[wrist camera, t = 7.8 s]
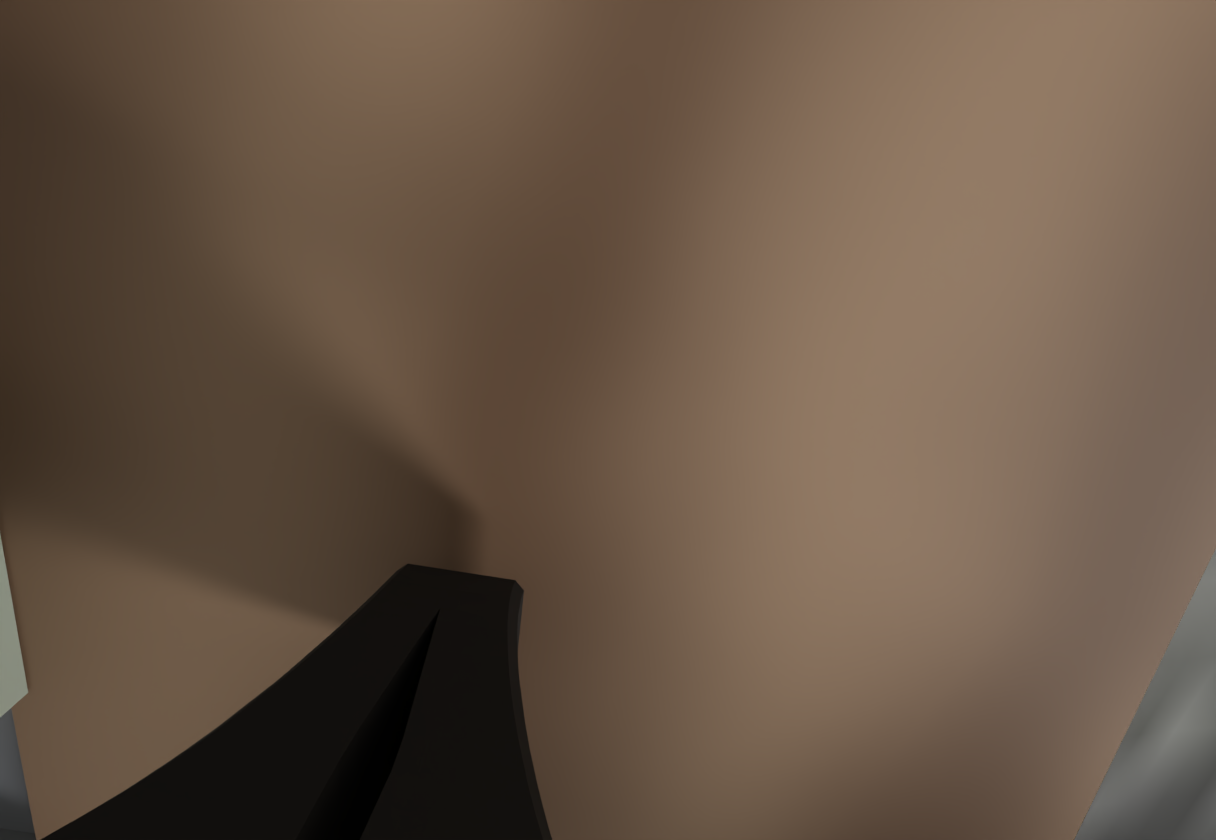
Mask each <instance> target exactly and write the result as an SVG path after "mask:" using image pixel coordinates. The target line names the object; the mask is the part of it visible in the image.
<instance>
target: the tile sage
mask: <svg viewBox="0 0 1216 840" xmlns="http://www.w3.org/2000/svg"><path fill="white" fill-rule="evenodd" d="M27 693H28V688H27V683H26V677H25V671H24V666H23V660H22V654H21V649H20V643H19V637H18V632H17V626H16V620H15V615H14V609H13V603H12V598H11V592H10V586H9V581H8V575H7V569H6V563H5V558H4V552H3V546H2V541H1V535H0V717H1V716H3V715H4V714H5V713H6V712H7V711H8V710H9V709H10V708H12V707H13V706H14V705H15V704H16V703H17V702H18V701H19V700H21V699H22V698H23V697H24V696H25V695H26V694H27Z"/></svg>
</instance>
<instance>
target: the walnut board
mask: <svg viewBox="0 0 1216 840" xmlns="http://www.w3.org/2000/svg"><path fill="white" fill-rule="evenodd" d="M0 535H1V541H2V546H3V552H4V558H5V563H6V569H7V575H8V581H9V586H10V592H11V598H12V603H13V609H14V615H15V620H16V626H17V632H18V637H19V643H20V649H21V654H22V660H23V666H24V671H25V677H26V683H27V688H28V693H27V694H26V695H25V696H24V697H23V698H22V699H21V700H19V701H18V702H17V703H16V704H15V705H14V706H13V707H12V708H11V709H12V714H13V719H14V725H15V730H16V735H17V741H18V746H19V751H20V757H21V762H22V767H23V772H24V778H25V783H26V788H27V794H28V799H29V804H30V810H31V815H32V820H33V826H34V831H35V836H36V840H40V839H42V838H44V837H46V836H47V835H49V834H51V833H53V832H54V831H56V830H58V829H60V828H62V827H63V826H65V825H67V824H69V823H70V822H72V821H74V820H76V819H77V818H79V817H81V816H83V815H84V814H86V813H88V812H89V811H91V810H93V809H94V808H96V807H98V806H99V805H101V804H103V803H104V802H106V801H108V800H109V799H111V798H113V797H115V796H116V795H118V794H120V793H121V792H123V791H124V790H126V789H128V788H129V787H131V786H132V785H134V784H135V783H137V782H138V781H140V780H141V779H143V778H144V777H146V776H148V775H149V774H151V773H152V772H154V771H155V770H157V769H158V768H160V767H161V766H163V765H164V764H166V763H167V762H169V761H170V760H172V759H173V758H175V757H176V756H178V755H179V754H180V753H182V752H183V751H185V750H186V749H188V748H189V747H190V746H192V745H193V744H195V743H196V742H197V741H199V740H200V739H202V738H203V737H204V736H206V735H207V734H209V733H210V732H211V731H213V730H214V729H215V728H217V727H218V726H219V725H221V724H222V723H223V722H225V721H226V720H227V719H228V718H230V717H231V716H232V715H234V714H235V713H236V712H237V711H239V710H240V709H241V708H243V707H244V706H245V705H246V704H248V703H249V702H250V701H252V700H253V699H254V698H255V697H257V696H258V695H259V694H260V693H262V692H263V691H264V690H266V689H267V688H268V687H269V686H271V685H272V684H273V683H275V682H276V681H277V680H278V679H279V678H281V677H282V676H283V675H284V674H285V673H287V672H288V671H289V670H290V669H291V668H292V667H294V666H295V665H296V664H297V663H298V662H299V661H300V660H302V659H303V658H304V657H305V656H306V655H307V654H308V653H310V652H311V651H312V650H313V649H314V648H315V647H316V646H318V645H319V644H320V643H321V642H322V641H323V640H325V639H326V638H327V637H328V636H329V635H330V634H331V633H332V632H334V631H335V630H336V629H337V628H338V627H339V626H340V625H341V624H342V623H343V622H344V621H345V620H346V619H348V618H349V617H350V616H351V615H352V614H353V613H354V612H355V611H356V610H357V609H358V608H359V607H360V606H361V605H362V604H363V603H365V602H366V601H367V600H368V599H369V598H370V597H371V596H372V595H373V594H374V593H375V592H376V591H377V590H378V589H379V588H380V587H381V586H382V585H383V584H384V583H385V582H386V581H387V580H388V579H389V578H390V577H391V576H392V575H393V574H394V573H395V572H396V571H397V570H399V569H400V568H402V567H403V566H405V565H406V564H414V565H421V566H427V567H434V568H440V569H447V570H453V571H459V572H466V573H472V574H479V575H485V576H492V577H498V578H505V579H511V580H516V581H517V583H518V584H519V585H520V586H521V587H522V589H523V590H524V596H523V606H522V615H521V625H520V634H519V644H518V668H519V680H520V688H521V696H522V703H523V710H524V718H525V725H526V731H527V736H528V742H529V747H530V752H531V757H532V761H533V766H534V771H535V775H536V780H537V784H538V789H539V793H540V797H541V801H542V805H543V808H544V812H545V816H546V820H547V823H548V827H549V830H550V834H551V837H552V840H1074V839H1075V837H1076V835H1077V832H1078V830H1079V828H1080V826H1081V824H1082V822H1083V820H1084V818H1085V816H1086V814H1087V812H1088V810H1089V808H1090V806H1091V804H1092V802H1093V800H1094V798H1095V795H1096V793H1097V791H1098V789H1099V787H1100V785H1101V783H1102V781H1103V779H1104V777H1105V775H1106V773H1107V771H1108V769H1109V767H1110V765H1111V763H1112V761H1113V758H1114V756H1115V754H1116V752H1117V750H1118V748H1119V746H1120V744H1121V742H1122V740H1123V738H1124V736H1125V734H1126V732H1127V730H1128V728H1129V726H1130V724H1131V721H1132V719H1133V717H1134V715H1135V713H1136V711H1137V709H1138V707H1139V705H1140V703H1141V701H1142V699H1143V697H1144V695H1145V693H1146V691H1147V689H1148V686H1149V684H1150V682H1151V680H1152V678H1153V676H1154V674H1155V672H1156V670H1157V668H1158V666H1159V664H1160V662H1161V660H1162V658H1163V656H1164V654H1165V652H1166V649H1167V647H1168V645H1169V643H1170V641H1171V639H1172V637H1173V635H1174V633H1175V631H1176V629H1177V627H1178V625H1179V623H1180V621H1181V619H1182V617H1183V615H1184V612H1185V610H1186V608H1187V606H1188V604H1189V602H1190V600H1191V598H1192V596H1193V594H1194V592H1195V590H1196V588H1197V586H1198V584H1199V582H1200V580H1201V577H1202V575H1203V573H1204V571H1205V569H1206V567H1207V565H1208V563H1209V561H1210V559H1211V557H1212V555H1213V553H1214V551H1215V549H1216V0H0Z"/></svg>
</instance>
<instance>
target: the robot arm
mask: <svg viewBox="0 0 1216 840" xmlns="http://www.w3.org/2000/svg"><path fill="white" fill-rule="evenodd" d="M523 596H524V590H523V589H522V587H521V586H520V585H519V584H518V583H517V581H516V580H511V579H505V578H498V577H492V576H485V575H479V574H472V573H466V572H459V571H453V570H447V569H440V568H434V567H427V566H421V565H414V564H406V565H405V566H403V567H402V568H400V569H399V570H397V571H396V572H395V573H394V574H393V575H392V576H391V577H390V578H389V579H388V580H387V581H386V582H385V583H384V584H383V585H382V586H381V587H380V588H379V589H378V590H377V591H376V592H375V593H374V594H373V595H372V596H371V597H370V598H369V599H368V600H367V601H366V602H365V603H363V604H362V605H361V606H360V607H359V608H358V609H357V610H356V611H355V612H354V613H353V614H352V615H351V616H350V617H349V618H348V619H346V620H345V621H344V622H343V623H342V624H341V625H340V626H339V627H338V628H337V629H336V630H335V631H334V632H332V633H331V634H330V635H329V636H328V637H327V638H326V639H325V640H323V641H322V642H321V643H320V644H319V645H318V646H316V647H315V648H314V649H313V650H312V651H311V652H310V653H308V654H307V655H306V656H305V657H304V658H303V659H302V660H300V661H299V662H298V663H297V664H296V665H295V666H294V667H292V668H291V669H290V670H289V671H288V672H287V673H285V674H284V675H283V676H282V677H281V678H279V679H278V680H277V681H276V682H275V683H273V684H272V685H271V686H269V687H268V688H267V689H266V690H264V691H263V692H262V693H260V694H259V695H258V696H257V697H255V698H254V699H253V700H252V701H250V702H249V703H248V704H246V705H245V706H244V707H243V708H241V709H240V710H239V711H237V712H236V713H235V714H234V715H232V716H231V717H230V718H228V719H227V720H226V721H225V722H223V723H222V724H221V725H219V726H218V727H217V728H215V729H214V730H213V731H211V732H210V733H209V734H207V735H206V736H204V737H203V738H202V739H200V740H199V741H197V742H196V743H195V744H193V745H192V746H190V747H189V748H188V749H186V750H185V751H183V752H182V753H180V754H179V755H178V756H176V757H175V758H173V759H172V760H170V761H169V762H167V763H166V764H164V765H163V766H161V767H160V768H158V769H157V770H155V771H154V772H152V773H151V774H149V775H148V776H146V777H144V778H143V779H141V780H140V781H138V782H137V783H135V784H134V785H132V786H131V787H129V788H128V789H126V790H124V791H123V792H121V793H120V794H118V795H116V796H115V797H113V798H111V799H109V800H108V801H106V802H104V803H103V804H101V805H99V806H98V807H96V808H94V809H93V810H91V811H89V812H88V813H86V814H84V815H83V816H81V817H79V818H77V819H76V820H74V821H72V822H70V823H69V824H67V825H65V826H63V827H62V828H60V829H58V830H56V831H54V832H53V833H51V834H49V835H47V836H46V837H44V838H42V839H40V840H552V837H551V834H550V830H549V827H548V823H547V820H546V816H545V812H544V808H543V805H542V801H541V797H540V793H539V789H538V784H537V780H536V775H535V771H534V766H533V761H532V757H531V752H530V747H529V742H528V736H527V731H526V725H525V718H524V710H523V703H522V696H521V688H520V680H519V668H518V644H519V634H520V625H521V615H522V606H523Z"/></svg>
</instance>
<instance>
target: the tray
mask: <svg viewBox="0 0 1216 840" xmlns="http://www.w3.org/2000/svg"><path fill="white" fill-rule="evenodd" d="M0 840H36V836H35V831H34V826H33V820H32V815H31V810H30V804H29V799H28V794H27V788H26V783H25V778H24V772H23V767H22V762H21V757H20V751H19V746H18V741H17V735H16V730H15V725H14V719H13V714H12V709H11V708H10V709H9V710H8V711H7V712H6V713H5V714H4V715H3V716H1V717H0Z"/></svg>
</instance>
